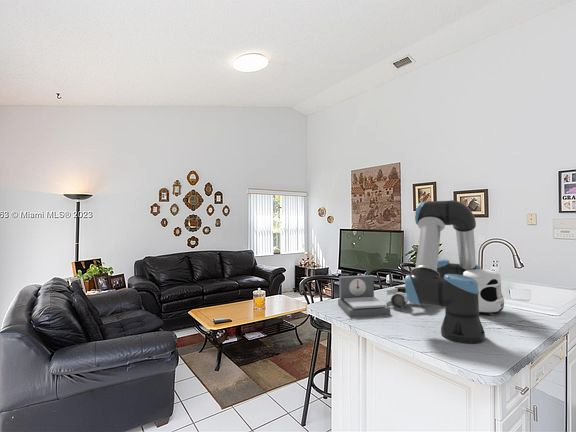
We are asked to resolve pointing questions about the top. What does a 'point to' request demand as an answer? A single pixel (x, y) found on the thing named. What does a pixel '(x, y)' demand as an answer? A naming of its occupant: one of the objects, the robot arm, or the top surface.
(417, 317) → the top surface
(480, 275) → the white rounded piece
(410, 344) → the top surface
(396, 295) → the ceramic mug
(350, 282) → the kitchen scale
